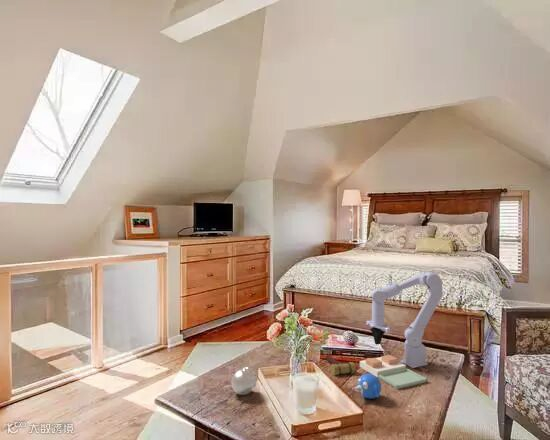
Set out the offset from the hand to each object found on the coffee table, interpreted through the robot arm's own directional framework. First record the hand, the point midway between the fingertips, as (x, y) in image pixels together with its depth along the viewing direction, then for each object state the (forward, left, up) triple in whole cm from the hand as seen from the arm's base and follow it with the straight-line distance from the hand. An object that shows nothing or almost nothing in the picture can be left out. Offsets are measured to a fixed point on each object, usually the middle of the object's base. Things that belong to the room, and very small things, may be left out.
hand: (377, 343), depth 169 cm
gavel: (+22, -3, -9) cm, 24 cm away
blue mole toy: (+28, +26, -8) cm, 39 cm away
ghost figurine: (+69, +5, -8) cm, 70 cm away
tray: (+4, +20, -8) cm, 22 cm away
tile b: (+9, +8, -6) cm, 13 cm away
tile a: (0, +8, -6) cm, 10 cm away
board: (+4, +8, -8) cm, 12 cm away
